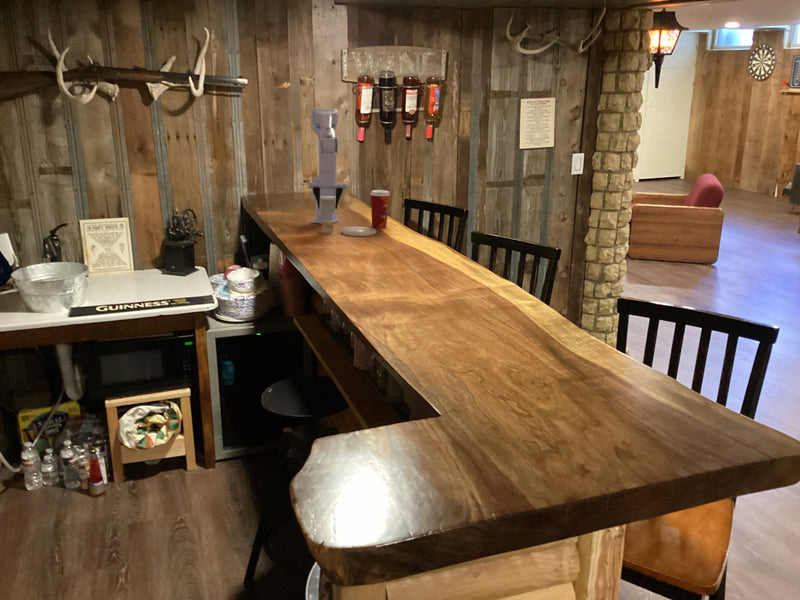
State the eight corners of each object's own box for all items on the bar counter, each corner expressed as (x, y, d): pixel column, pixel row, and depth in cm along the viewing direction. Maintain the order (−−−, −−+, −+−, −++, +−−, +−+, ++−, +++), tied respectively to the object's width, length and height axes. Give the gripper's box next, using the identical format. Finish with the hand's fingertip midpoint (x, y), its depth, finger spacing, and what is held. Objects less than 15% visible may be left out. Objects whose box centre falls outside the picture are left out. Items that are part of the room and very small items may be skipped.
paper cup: (388, 229, 269) (389, 193, 265) (368, 228, 269) (369, 192, 265) (389, 225, 277) (390, 190, 273) (370, 224, 277) (371, 189, 273)
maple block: (322, 230, 262) (322, 220, 261) (333, 231, 262) (333, 220, 261) (321, 233, 258) (321, 222, 257) (332, 233, 258) (332, 222, 257)
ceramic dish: (348, 227, 269) (348, 225, 268) (380, 231, 265) (380, 228, 265) (336, 234, 257) (336, 231, 256) (369, 237, 253) (369, 235, 253)
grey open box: (320, 212, 261) (320, 195, 259) (335, 212, 261) (335, 196, 259) (319, 214, 255) (319, 198, 253) (335, 215, 256) (335, 198, 254)
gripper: (307, 172, 249) (307, 209, 253) (347, 173, 250) (347, 211, 254) (308, 169, 256) (308, 206, 260) (348, 171, 257) (347, 207, 261)
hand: (327, 208), depth 257 cm, fingers closed on grey open box, 6 cm apart
